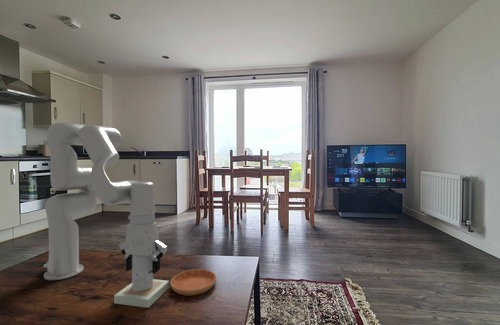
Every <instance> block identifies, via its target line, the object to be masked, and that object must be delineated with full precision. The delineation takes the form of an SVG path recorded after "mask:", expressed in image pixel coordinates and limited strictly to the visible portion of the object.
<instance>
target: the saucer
mask: <svg viewBox="0 0 500 325" xmlns="http://www.w3.org/2000/svg"><path fill="white" fill-rule="evenodd" d="M216 282H217V275H216V274H215V272H213V271H211V270H209V269H203V268H199V269H198V268H197V269H195V268H194V269H189V270H185V271H182V272H179V273H177V274H176V275H173V277H172V278H171V280H170V281H169V286H170V288H171V290H173V291H174V292H175V293H177V294H178V295H180V296H183V297H184V296H186V297H193V296H199V295H202V294H204V293H206V292H208V291H210V290H211V288H213V286H215V284H216Z"/></svg>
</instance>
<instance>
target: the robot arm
mask: <svg viewBox="0 0 500 325" xmlns="http://www.w3.org/2000/svg"><path fill="white" fill-rule="evenodd" d="M47 129H48V130H47V132H46V144H47V148H48V149H49V154H50V185H51V187H52V189H53V190H56V191H73V190H79V191H77V192H69V193H61V194H55V195H53V196H51V197H49V198H48V199H47V200H46V201H45V203H44V207H45V208H44V210H45V214H46V219H47V225H48V260H47V261H46V263H44V264H43V265H42V267H43V268H47V271H46V272H45V273H44V274H43V278H44V279H45V280H46V281H58V280H64V279H68V278H71V277H73V276H76V275H78V274H80V273H82V272H83V271H84V268H85V267H84V265H83V264H80V252H79V251H80V250H79V248H80V246H79V245H80V244H79V243H80V242H79V240H80V239H79V238H80V236H79V234H80V233H79V231H80V230H79V226H78V223H77V222H76V221H75V220H74V219H73V217H76V216H77V217H78V216H81V215H86V214H89V213H92V212H94V211H95V209H96V207H97V205H98V204H97V203H98V202H97V201H98V200H99V201H100V202H101V203H102V204H103V205H106V206H115V205H121V204H125V203H129V215H127V219H128V220H129V223H127V227H126V232H125V239H124V241H122V242H121V243H119V244H118V246H119V249H120V250H121V251H120V252H121V254H122V255H123V258H124V259H125V267H126V268H125V270H126V272H127V271H128V272H129V271H131V270H132V255H138V256H150V255H151V257H152V258H153V262H152V273H153V275H155V274H156V273H157V272H159V271H160V269H161V259H162V258H163V257H164V256H165V255H166V252H167V250H168V245H165V244H164V243H163V242H161V241H160V236H159V228H158V224H157V222H156V216H155V215H156V214H155V213H156V210H155V209H156V207H155V206H156V205H155V204H156V203H155V197H156V193H155V192H156V190H155V188H156V187H155V184H154V183H153V182H152V181H151V182H150V181H139V180H133V179H132V180H120V181H119V180H118V181H117V180H116V181H111V179H110V178H109V177H108V175H107V173H106V170H107V169H109V168H111V167H113V166H115V165H116V164H117V162H118V161H119V159H120V155H119V152H118V150H116V149H117V148H118V147H119V146H120V145H121V143H122V134H121V133H120V131H119V130H117V128H115V127H112V126H104V125H98V124H97V125H96V124H82V123H74V122H66V121H64V122H62V121H60V122H55V123H53V124H51V125H50V126H49V127H48V128H47ZM72 146H83V148H84V149H85V151H86V153H87V155H88V157H89V158H90V160H91V162H92V163H93V166H92V167H90V166H88V165H87V166H86V165H85V166H84V165H81V166H78V155H77V152H76V151H75V150H74V148H73V147H72ZM159 249H160V250H159Z"/></svg>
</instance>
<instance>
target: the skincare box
mask: <svg viewBox="0 0 500 325" xmlns="http://www.w3.org/2000/svg"><path fill="white" fill-rule="evenodd" d="M153 261H154V259H153V258H152V257H151V255H150V256H138V255H132V269H131V283H132V289H133V292H137V291H142V290H146V289H149V288H152V287H153V279H154V273H152V262H153Z"/></svg>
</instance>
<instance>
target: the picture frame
mask: <svg viewBox="0 0 500 325" xmlns="http://www.w3.org/2000/svg"><path fill="white" fill-rule="evenodd" d="M169 289H170V281H169V280H166V279H165V280H164V279H155V278H153V287H152V288H149V289H146V290H142V291H137V292H133V289H132V282H131V283H129V284H128V285H126V286H125V287H124V288H123V289H120V291H118V292H117V293H116V294H114V295H113V300H114V302H113V304H116V305H122V306H123V305H124V306H125V305H126V306H133V307H140V308H146V309H147V308H148V309H149V308H150V307H151V306H152V305H153V304H154V303H155V302H157V300H158V299H159V298H161V296H162V295H163V294H164V293H165V292H167V291H168V290H169Z"/></svg>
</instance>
